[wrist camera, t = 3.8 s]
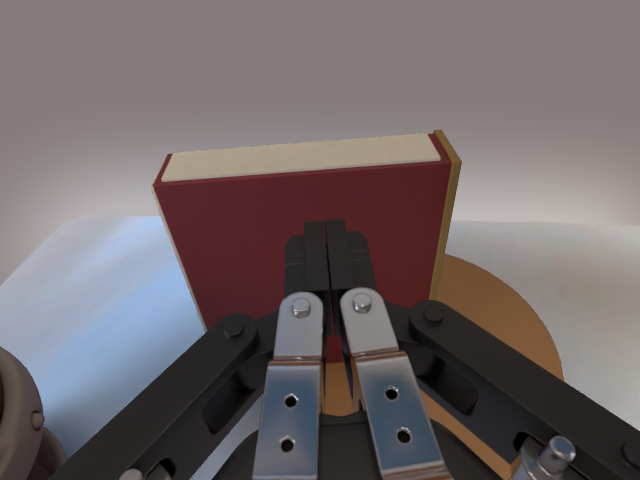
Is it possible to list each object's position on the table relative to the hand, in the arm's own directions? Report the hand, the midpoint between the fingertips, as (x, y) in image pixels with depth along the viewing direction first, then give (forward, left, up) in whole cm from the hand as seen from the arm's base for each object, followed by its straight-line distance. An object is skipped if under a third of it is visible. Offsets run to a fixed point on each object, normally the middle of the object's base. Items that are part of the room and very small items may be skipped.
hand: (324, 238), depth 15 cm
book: (-3, -6, -16) cm, 17 cm away
